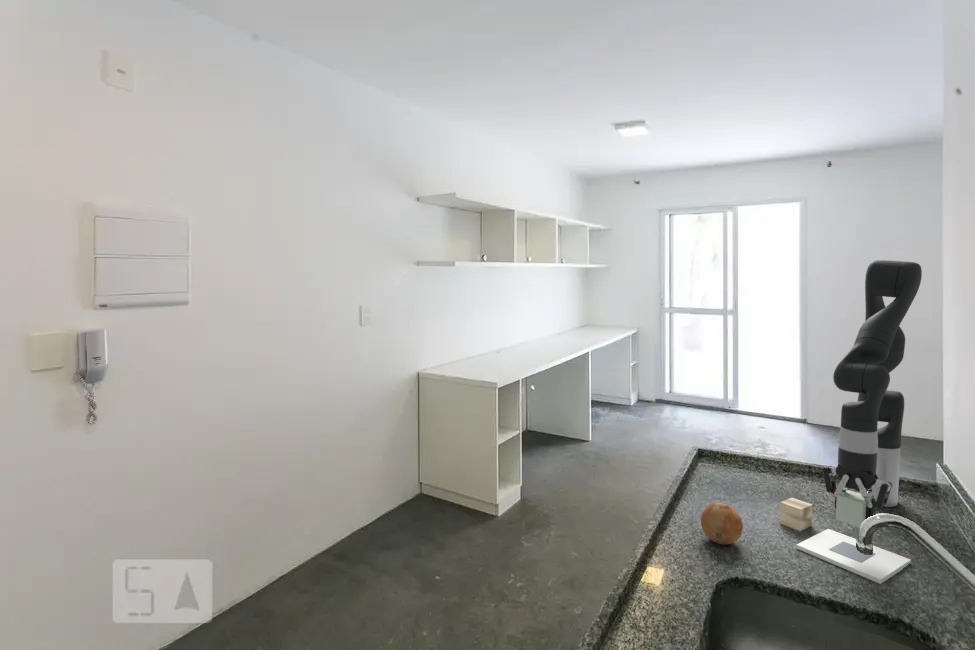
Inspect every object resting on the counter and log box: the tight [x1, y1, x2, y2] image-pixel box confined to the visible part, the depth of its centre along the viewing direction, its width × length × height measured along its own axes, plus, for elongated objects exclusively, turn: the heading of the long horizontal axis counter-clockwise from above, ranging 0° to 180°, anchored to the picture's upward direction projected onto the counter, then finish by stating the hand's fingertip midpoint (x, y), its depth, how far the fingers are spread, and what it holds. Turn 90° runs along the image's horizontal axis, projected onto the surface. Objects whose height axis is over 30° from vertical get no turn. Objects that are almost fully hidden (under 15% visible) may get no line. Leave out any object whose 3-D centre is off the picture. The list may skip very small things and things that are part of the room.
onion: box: [700, 502, 744, 546], centre depth 134 cm, size 10×10×10 cm
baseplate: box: [795, 528, 912, 585], centre depth 127 cm, size 15×18×1 cm
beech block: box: [779, 497, 813, 532], centre depth 143 cm, size 6×6×6 cm
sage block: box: [835, 489, 867, 529], centre depth 125 cm, size 6×6×6 cm
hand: (854, 516), depth 126 cm, fingers closed on sage block, 5 cm apart
